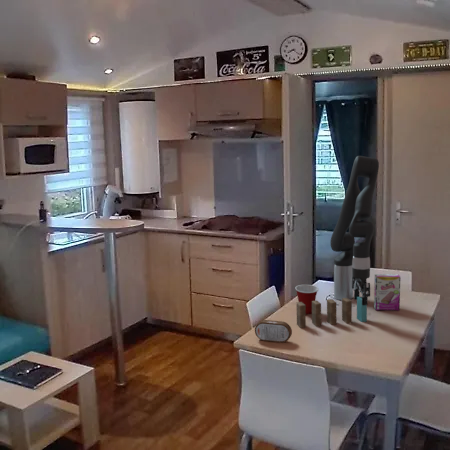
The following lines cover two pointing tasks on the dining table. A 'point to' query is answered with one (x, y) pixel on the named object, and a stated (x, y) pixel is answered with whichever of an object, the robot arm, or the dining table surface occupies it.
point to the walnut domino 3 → (331, 312)
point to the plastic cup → (306, 295)
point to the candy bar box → (387, 292)
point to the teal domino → (361, 310)
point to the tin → (273, 331)
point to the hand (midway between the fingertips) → (360, 302)
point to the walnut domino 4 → (346, 310)
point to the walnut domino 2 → (316, 313)
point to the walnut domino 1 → (301, 314)
